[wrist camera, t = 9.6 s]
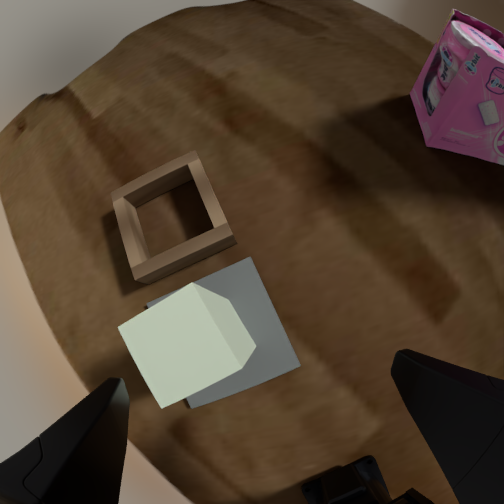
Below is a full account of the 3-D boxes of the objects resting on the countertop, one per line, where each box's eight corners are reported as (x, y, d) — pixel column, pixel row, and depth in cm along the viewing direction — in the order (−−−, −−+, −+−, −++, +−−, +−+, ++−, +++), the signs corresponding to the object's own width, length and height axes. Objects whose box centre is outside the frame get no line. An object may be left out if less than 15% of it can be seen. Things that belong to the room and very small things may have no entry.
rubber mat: (300, 364, 20) (300, 365, 20) (193, 407, 20) (191, 408, 20) (250, 257, 22) (250, 256, 22) (149, 303, 22) (146, 303, 22)
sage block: (256, 346, 20) (242, 368, 11) (210, 371, 20) (161, 408, 11) (228, 299, 21) (192, 282, 12) (183, 325, 21) (117, 327, 11)
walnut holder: (237, 243, 23) (232, 234, 20) (148, 284, 23) (134, 280, 20) (201, 164, 25) (195, 149, 22) (123, 203, 24) (110, 192, 22)
